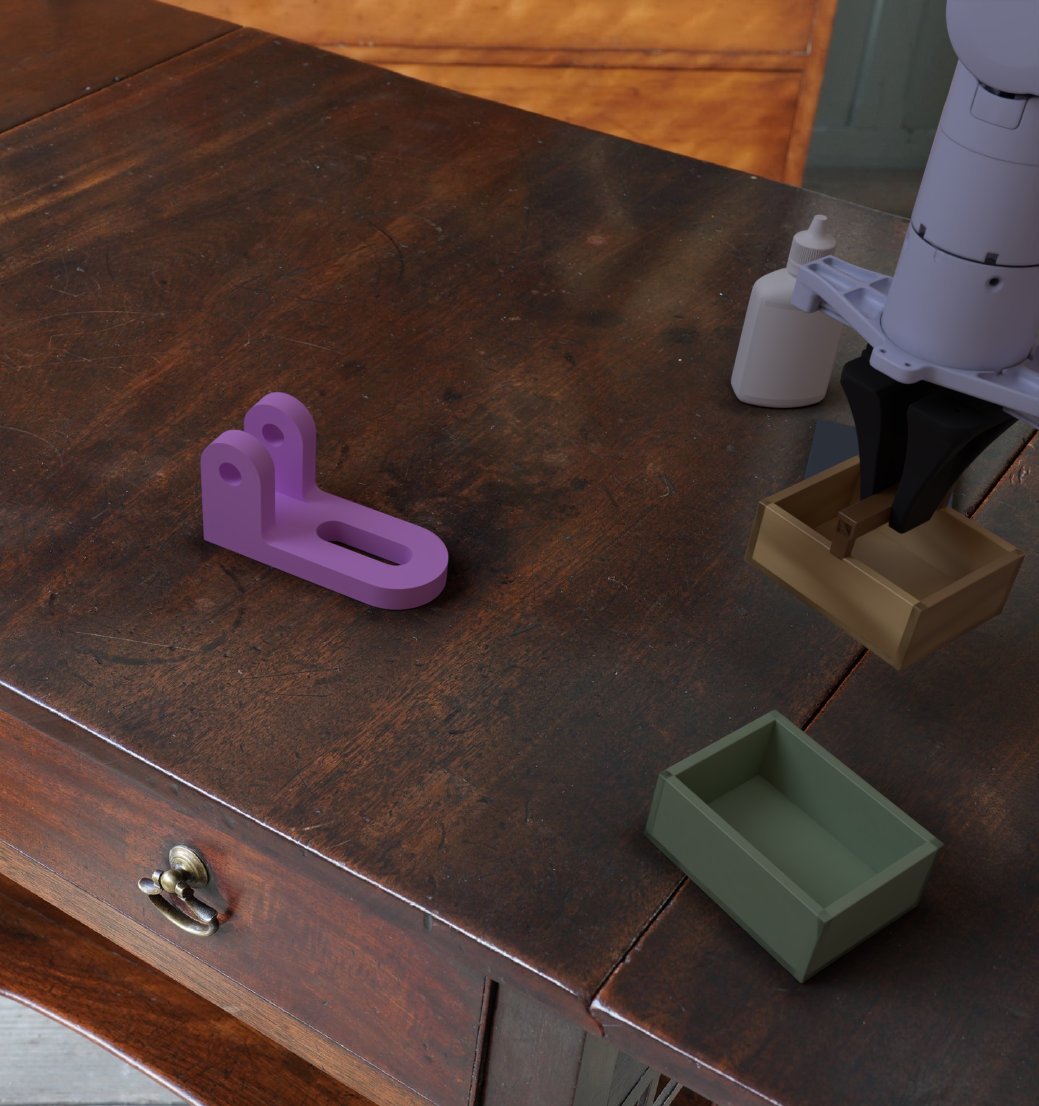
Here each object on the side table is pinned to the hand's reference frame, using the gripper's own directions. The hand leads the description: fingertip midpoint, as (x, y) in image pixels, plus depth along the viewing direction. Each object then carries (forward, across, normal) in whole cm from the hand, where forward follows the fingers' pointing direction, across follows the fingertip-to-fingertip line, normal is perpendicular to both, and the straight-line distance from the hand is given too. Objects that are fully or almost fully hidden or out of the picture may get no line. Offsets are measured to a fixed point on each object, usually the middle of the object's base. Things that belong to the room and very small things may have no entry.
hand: (894, 513), depth 64 cm
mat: (+10, -8, +13) cm, 19 cm away
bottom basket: (+10, +6, -11) cm, 17 cm away
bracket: (+11, -22, -15) cm, 28 cm away
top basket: (+4, 0, 0) cm, 4 cm away
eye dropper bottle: (+11, -20, +17) cm, 28 cm away
